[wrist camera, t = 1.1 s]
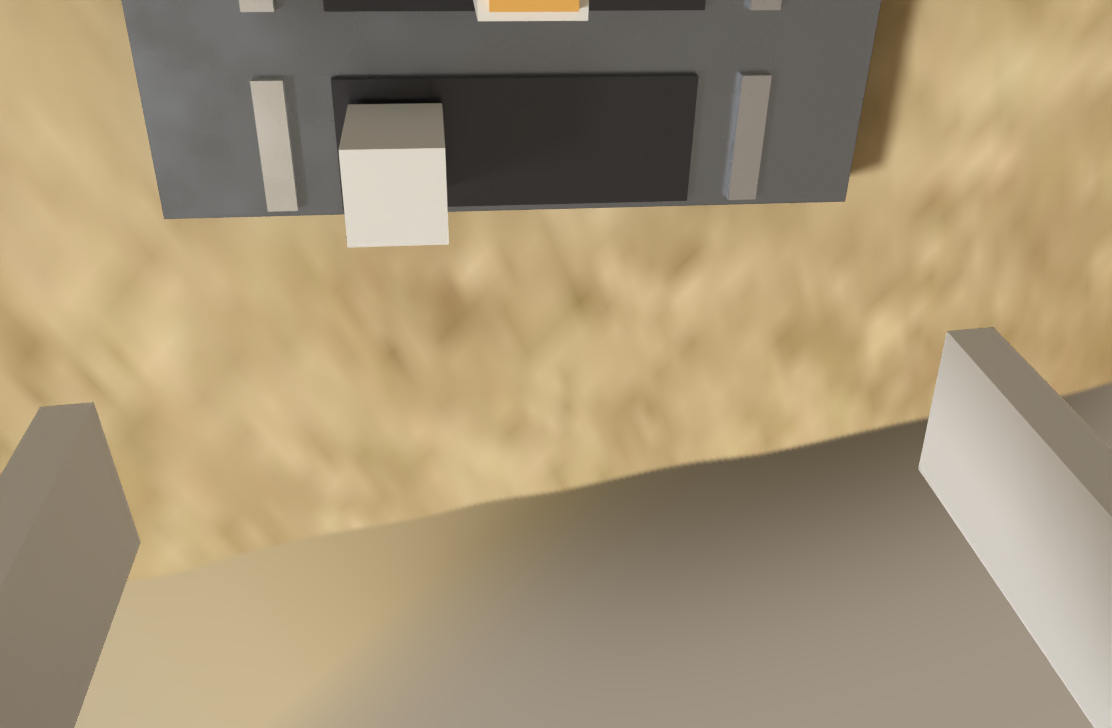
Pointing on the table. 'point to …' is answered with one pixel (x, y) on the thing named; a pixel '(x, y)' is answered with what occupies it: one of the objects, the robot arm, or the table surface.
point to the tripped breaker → (531, 10)
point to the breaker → (394, 175)
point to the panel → (505, 100)
